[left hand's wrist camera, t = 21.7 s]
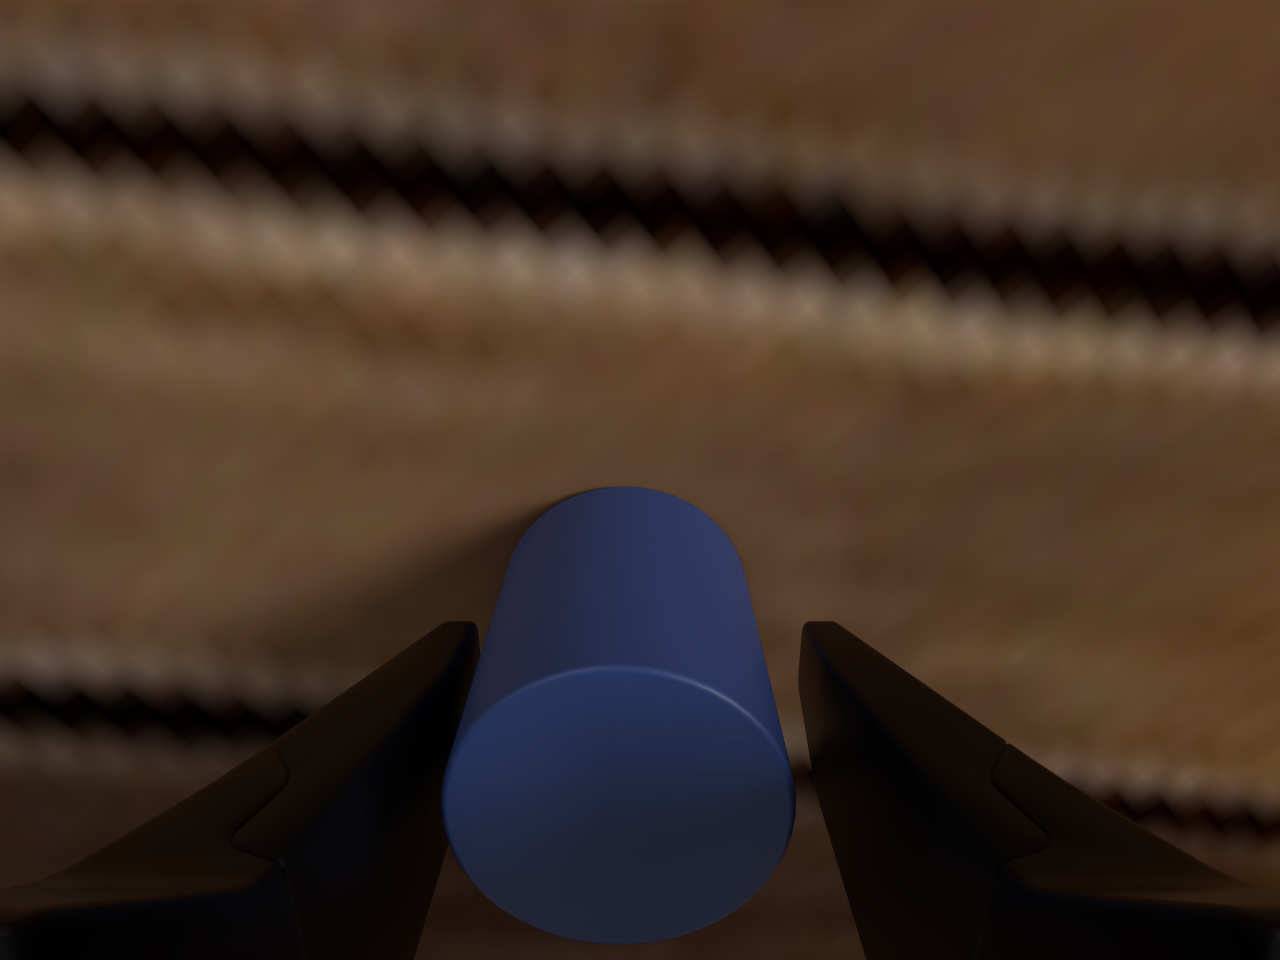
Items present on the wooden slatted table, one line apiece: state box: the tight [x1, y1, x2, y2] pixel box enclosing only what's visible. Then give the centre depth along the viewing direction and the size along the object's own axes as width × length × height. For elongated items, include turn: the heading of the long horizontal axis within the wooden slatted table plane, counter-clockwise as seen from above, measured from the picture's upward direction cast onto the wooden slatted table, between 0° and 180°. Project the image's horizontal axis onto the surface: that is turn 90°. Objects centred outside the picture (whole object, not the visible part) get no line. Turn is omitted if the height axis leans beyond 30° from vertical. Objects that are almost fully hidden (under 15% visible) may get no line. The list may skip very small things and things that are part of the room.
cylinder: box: [441, 487, 796, 945], centre depth 10 cm, size 4×4×4 cm
